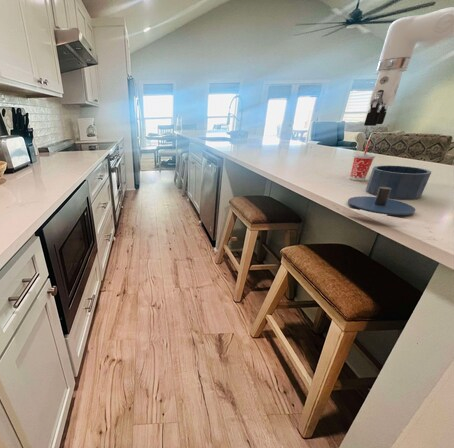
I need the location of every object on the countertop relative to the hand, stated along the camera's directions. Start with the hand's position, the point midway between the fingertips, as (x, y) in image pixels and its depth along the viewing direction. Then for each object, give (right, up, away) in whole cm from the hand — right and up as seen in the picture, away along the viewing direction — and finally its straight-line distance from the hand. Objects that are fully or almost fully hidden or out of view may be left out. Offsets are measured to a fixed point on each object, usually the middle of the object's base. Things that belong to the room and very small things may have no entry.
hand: (373, 124), depth 84 cm
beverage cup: (+1, -18, +8) cm, 20 cm away
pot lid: (-16, -30, -19) cm, 39 cm away
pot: (-2, -25, -8) cm, 26 cm away
